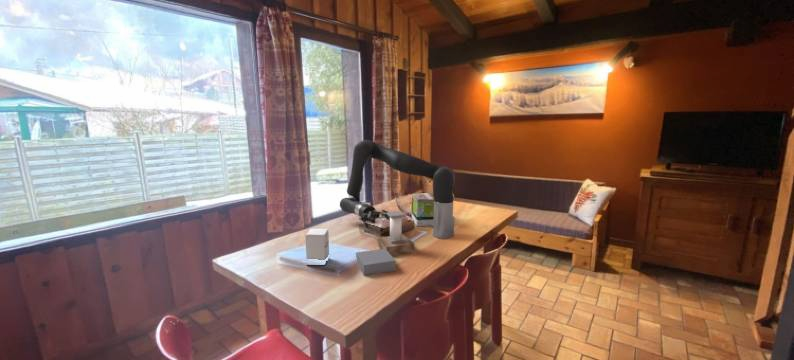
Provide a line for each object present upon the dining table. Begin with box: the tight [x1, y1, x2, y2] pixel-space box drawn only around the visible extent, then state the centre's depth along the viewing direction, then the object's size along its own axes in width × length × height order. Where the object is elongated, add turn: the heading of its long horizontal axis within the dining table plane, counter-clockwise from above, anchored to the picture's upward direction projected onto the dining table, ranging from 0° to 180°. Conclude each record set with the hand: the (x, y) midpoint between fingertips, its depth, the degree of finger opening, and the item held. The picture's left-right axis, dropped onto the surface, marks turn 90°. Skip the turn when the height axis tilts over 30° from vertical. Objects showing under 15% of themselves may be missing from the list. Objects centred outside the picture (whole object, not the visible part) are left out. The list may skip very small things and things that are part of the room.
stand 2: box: [377, 233, 415, 257], centre depth 140 cm, size 12×12×4 cm
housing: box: [387, 210, 406, 244], centre depth 138 cm, size 6×6×12 cm
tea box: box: [411, 192, 434, 227], centre depth 176 cm, size 15×10×15 cm
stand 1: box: [355, 248, 396, 277], centre depth 123 cm, size 12×12×4 cm
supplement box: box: [305, 228, 330, 260], centre depth 126 cm, size 7×7×13 cm
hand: (382, 219), depth 146 cm, fingers open, 8 cm apart
